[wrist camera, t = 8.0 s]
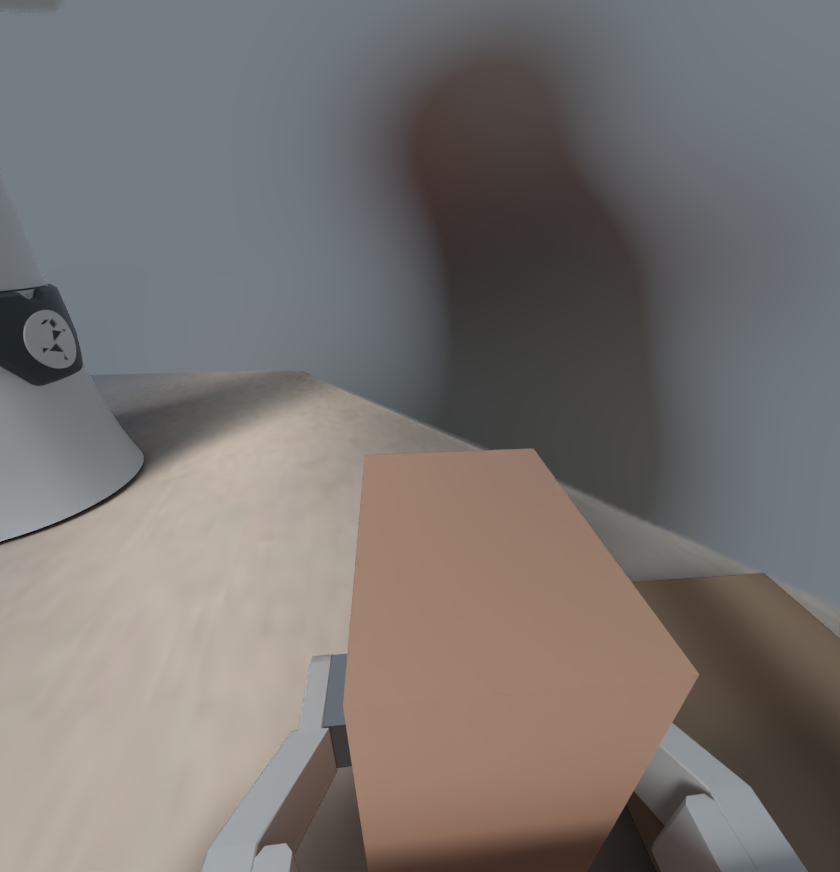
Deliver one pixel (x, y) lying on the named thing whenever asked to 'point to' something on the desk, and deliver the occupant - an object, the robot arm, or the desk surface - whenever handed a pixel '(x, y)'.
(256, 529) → the desk surface
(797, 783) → the plinth
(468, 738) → the terracotta block
